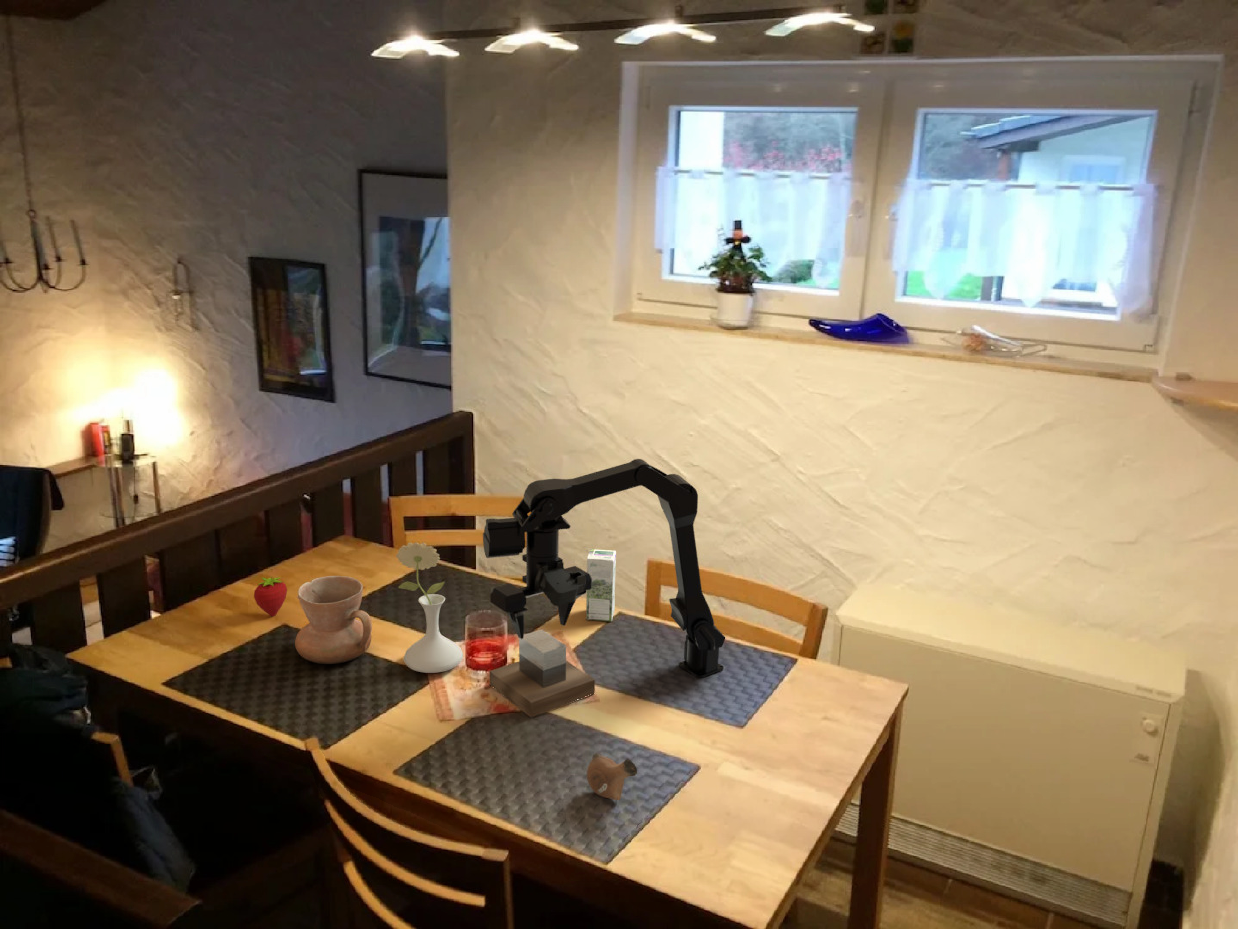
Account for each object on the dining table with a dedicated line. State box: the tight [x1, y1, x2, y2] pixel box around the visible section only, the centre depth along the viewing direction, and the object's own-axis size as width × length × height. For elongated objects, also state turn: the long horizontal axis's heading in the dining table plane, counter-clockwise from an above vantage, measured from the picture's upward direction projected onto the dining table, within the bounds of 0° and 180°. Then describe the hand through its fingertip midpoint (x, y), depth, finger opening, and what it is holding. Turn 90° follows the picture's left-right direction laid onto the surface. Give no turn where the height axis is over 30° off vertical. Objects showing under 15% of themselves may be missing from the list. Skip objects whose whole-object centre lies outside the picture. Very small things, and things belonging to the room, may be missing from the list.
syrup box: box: [585, 548, 617, 622], centre depth 220 cm, size 6×6×14 cm
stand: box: [489, 660, 596, 718], centre depth 191 cm, size 14×14×3 cm
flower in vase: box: [395, 542, 464, 674], centre depth 196 cm, size 13×11×25 cm
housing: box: [518, 629, 567, 688], centre depth 189 cm, size 8×5×7 cm, turn 38°
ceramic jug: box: [294, 575, 373, 665], centre depth 200 cm, size 18×14×14 cm
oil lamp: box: [586, 752, 638, 801], centre depth 159 cm, size 9×4×8 cm, turn 58°
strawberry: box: [253, 576, 288, 617], centre depth 217 cm, size 6×8×10 cm
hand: (542, 631), depth 188 cm, fingers open, 9 cm apart
